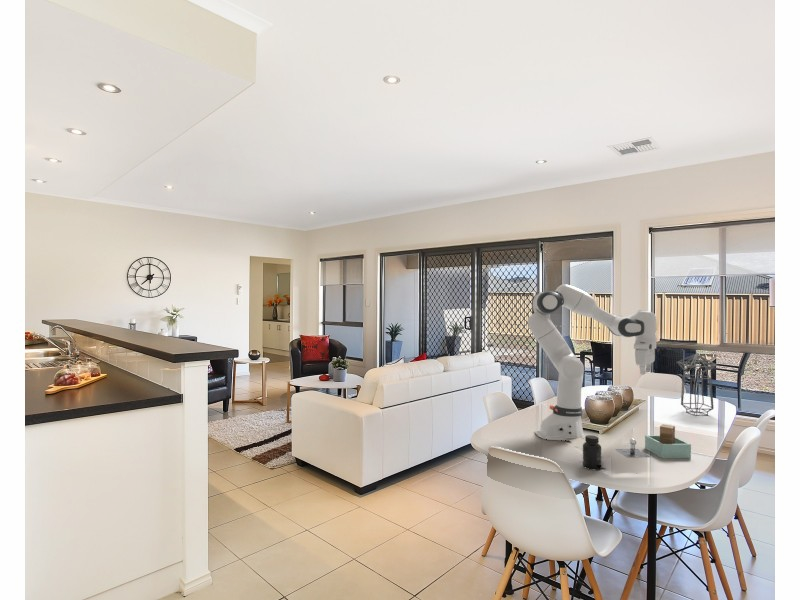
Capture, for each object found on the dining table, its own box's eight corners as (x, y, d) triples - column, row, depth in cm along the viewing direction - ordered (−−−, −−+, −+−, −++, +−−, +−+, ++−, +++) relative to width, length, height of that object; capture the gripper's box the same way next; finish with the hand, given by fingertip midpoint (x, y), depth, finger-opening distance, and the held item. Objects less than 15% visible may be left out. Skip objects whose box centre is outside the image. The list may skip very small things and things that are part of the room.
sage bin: (662, 461, 182) (662, 444, 182) (644, 451, 194) (645, 435, 194) (690, 461, 182) (690, 444, 182) (671, 451, 194) (671, 435, 194)
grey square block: (627, 461, 182) (628, 442, 182) (614, 452, 192) (615, 435, 192) (651, 460, 183) (651, 442, 183) (637, 452, 193) (637, 435, 193)
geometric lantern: (719, 417, 250) (719, 356, 250) (691, 418, 251) (691, 356, 250) (701, 410, 266) (701, 352, 265) (674, 410, 267) (674, 352, 266)
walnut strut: (672, 457, 185) (672, 428, 185) (659, 454, 188) (659, 426, 188) (674, 454, 188) (674, 426, 188) (662, 451, 191) (662, 423, 191)
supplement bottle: (596, 463, 179) (596, 434, 179) (604, 470, 172) (605, 439, 172) (579, 463, 179) (579, 434, 178) (587, 470, 172) (587, 439, 172)
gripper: (644, 342, 222) (643, 369, 222) (632, 345, 207) (632, 375, 207) (658, 343, 218) (658, 371, 218) (647, 346, 202) (647, 376, 203)
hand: (645, 373), depth 212 cm, fingers open, 8 cm apart
